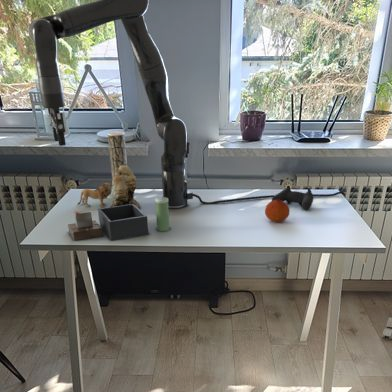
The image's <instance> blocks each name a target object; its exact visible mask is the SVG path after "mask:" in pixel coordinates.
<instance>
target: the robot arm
mask: <svg viewBox="0 0 392 392" xmlns="http://www.w3.org/2000/svg"><path fill="white" fill-rule="evenodd" d="M148 6H149V0H96V1H92V2H87V3H82V4H79V5H76V6H73V7H70V8H67V9H65V10H64V9H63V10H61V11H60V12H57V13H54V14H50V15H47V16H43V17H39V18H36V19H34V20H32V21H31V22H29V25H28V30H27V31H28V35H29V38H30V40H31V41H32V42H33V43H34V46H35V49H34V50H35V54H36V56H35V66H36V67H35V68H36V73H37V81H38V83H37V84H38V89H39V95H40V100H41V105H42V108H43V109H47V112H48V118H49V126H50V127H51V130H52V134H53V140H54V141H55V142H58V145H59V146H60V147H64V146H66V144H67V143H66V137H65V133H66V127H65V122H64V115H63V112H61V111H60V108H64V107H65V106H66V99H65V93H64V87H63V82H62V77H61V71H60V65H59V61H58V42H57V41H58V40H60V39H63V38H70V37H73V36H76V35H79V34H82V33H84V32H87V31H90V30H92V29H95V28H97V27H100V26H102V25H106V24H108V23H112V22H115V21H119V20H120V21H121V24H122V25H123V28H124V30H125V33H126V35H127V38H128V41H129V45H130V48H131V51H132V54H133V58H134V61H135V64H136V68H137V71H138V73H139V78H140V80H141V82H142V85H143V88H144V92H145V94H146V96H147V99H148V102H149V105H150V108H151V111H152V115H153V119H154V125H155V128H156V132H157V135H158V137H159V138H160V139H161V140H162V141H163V152H162V153H161V155H160V165H161V186H162V188H161V189H162V197H166V198H168V209H180V208H184V207H186V206H188V201H189V200H193V199H194V198H197V199H198V200H199V202H200V204H203V205H216V204H220V203H231V202H238V201H247V200H256V199H257V200H258V199H269V198H271V199H272V198H273V196H275V195H276V194H271V195H258V196H247V197H238V198H237V197H236V198H229V199H221V200H215V201H208V202H207V201H203V200H202V198H201V196H199V195H198V194H196V193H194V192H193V191H191V190H189V189H188V182H187V180H186V161H185V159H186V155H187V145H188V144H187V142H188V141H187V139H188V137H187V126H186V124H185V123H184V121H183V119H180V118H178V117H176V116H175V114H174V111H173V109H172V106H171V103H170V99H169V81H168V74H167V70H166V67H165V64H164V60H163V57H162V55H161V54H160V51H159V49H158V47H157V45H156V44H155V42H154V40H153V38H152V36H151V35H150V33H149V30H148V28H147V24H146V22H145V21H146V20H145V17H144V14H145V13H146V12H147V10H148V8H149V7H148ZM312 194H313V197H320V198H321V197H335V196H338V195H342V196H346V195H347V194H346V193H345V192H344V191H337V192H334V193H327V194H325V193H321V194H320V193H312Z"/></svg>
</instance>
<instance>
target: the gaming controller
mask: <svg viewBox="0 0 392 392" xmlns="http://www.w3.org/2000/svg"><path fill="white" fill-rule="evenodd" d="M313 194H314V193H313V192H312V190H311V188H308V189H307V191H306V192H302V191H297V190H295V191H294V190H291V186H290V185H288V184H287V186H286V187H285V188H284V189H283V190H281V191H279V192H278V193H276V194H274V195H275V196H273V197H272V198H271V201H274V200H276V199H278V200H282V201H284V202H285V203H287V204H291V203H295V204H298V205H299V206H301V207H302V210H304V211H308V210H310V209H311V207H312V205H313V202H314V196H313Z"/></svg>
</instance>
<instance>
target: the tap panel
mask: <svg viewBox="0 0 392 392" xmlns="http://www.w3.org/2000/svg"><path fill="white" fill-rule="evenodd" d="M92 222H93V226H89V227H82V228H77V227H76V222H75V223H68V224H67V228H68V233H69V234H70V236H71V237H72V239H73V241H82V240H87V239H93V238H100V237H103V230H102V228H101V227H100V223H99V222H97V220H94V219H93V220H92Z"/></svg>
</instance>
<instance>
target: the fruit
mask: <svg viewBox="0 0 392 392" xmlns="http://www.w3.org/2000/svg"><path fill="white" fill-rule="evenodd" d="M264 215H265V217H266V218H267V219H268V220H269V221H271V222H274V223H281V222H284V221H285V220H287V219H288V218H289V216H290V207H289V205H288V203H287V202H286V201H282V200H278V199H276V200H274V201H272V200H271V201H270V202H268V203H267V205H266V206H265V209H264Z"/></svg>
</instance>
